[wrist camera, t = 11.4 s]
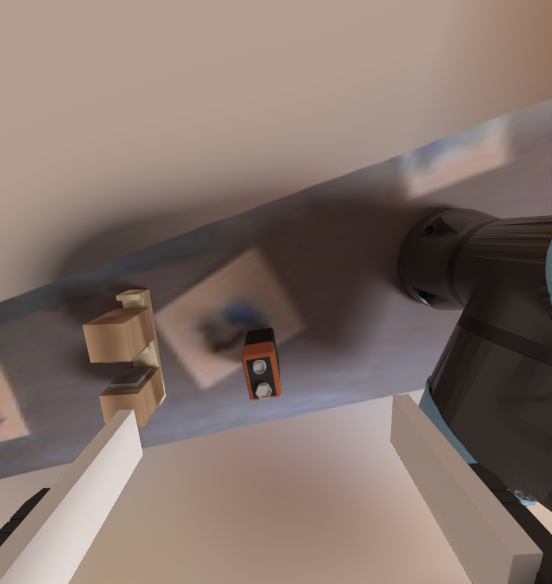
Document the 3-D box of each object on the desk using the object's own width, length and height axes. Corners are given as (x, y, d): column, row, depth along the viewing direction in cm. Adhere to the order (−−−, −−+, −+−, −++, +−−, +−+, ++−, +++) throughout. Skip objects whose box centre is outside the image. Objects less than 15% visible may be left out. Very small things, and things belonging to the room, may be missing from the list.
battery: (253, 367, 44) (249, 406, 34) (246, 330, 42) (240, 360, 32) (279, 363, 44) (282, 401, 34) (272, 326, 42) (274, 355, 32)
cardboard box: (149, 307, 38) (124, 323, 31) (155, 343, 39) (131, 366, 33) (115, 308, 38) (82, 325, 31) (122, 344, 39) (92, 368, 33)
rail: (155, 288, 40) (121, 305, 31) (171, 396, 44) (146, 439, 35) (123, 290, 40) (79, 307, 31) (142, 397, 44) (109, 441, 35)
